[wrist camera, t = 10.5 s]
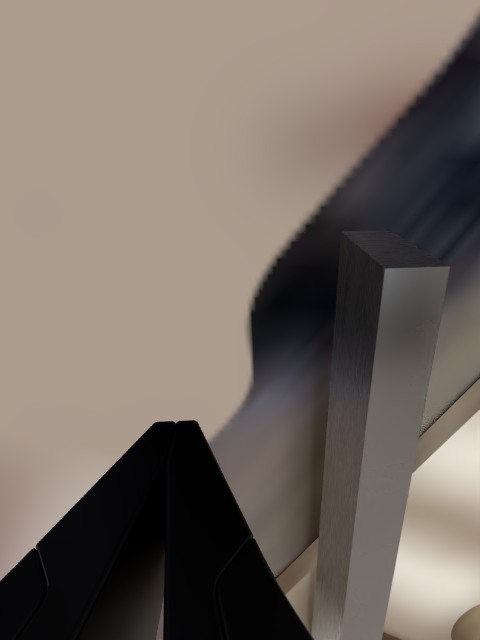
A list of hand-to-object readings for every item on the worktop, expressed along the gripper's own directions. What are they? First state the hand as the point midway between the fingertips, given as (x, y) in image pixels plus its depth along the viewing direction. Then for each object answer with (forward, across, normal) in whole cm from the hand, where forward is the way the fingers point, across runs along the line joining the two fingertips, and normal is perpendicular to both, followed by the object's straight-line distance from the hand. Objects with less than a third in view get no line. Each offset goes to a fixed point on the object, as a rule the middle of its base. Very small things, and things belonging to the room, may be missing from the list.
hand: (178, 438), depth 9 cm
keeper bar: (+5, -5, +7) cm, 10 cm away
